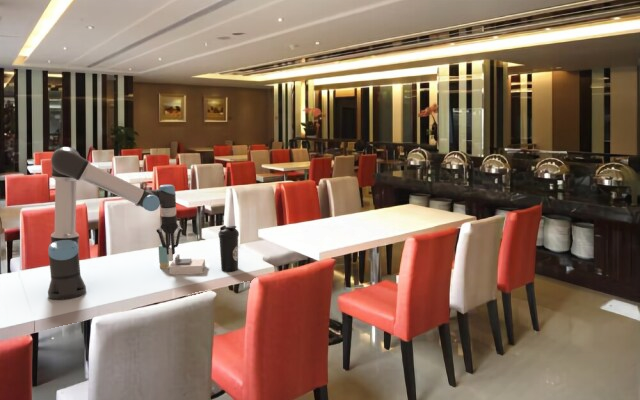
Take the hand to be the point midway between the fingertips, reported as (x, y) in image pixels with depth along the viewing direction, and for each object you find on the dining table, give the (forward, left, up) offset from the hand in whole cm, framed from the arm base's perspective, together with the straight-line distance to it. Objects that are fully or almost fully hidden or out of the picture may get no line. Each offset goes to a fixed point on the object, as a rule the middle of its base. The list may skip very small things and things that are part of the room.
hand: (171, 260), depth 250 cm
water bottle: (+26, -13, -6) cm, 30 cm away
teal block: (-2, +8, -6) cm, 10 cm away
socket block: (+7, -3, -6) cm, 10 cm away
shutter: (+6, -3, -1) cm, 6 cm away
